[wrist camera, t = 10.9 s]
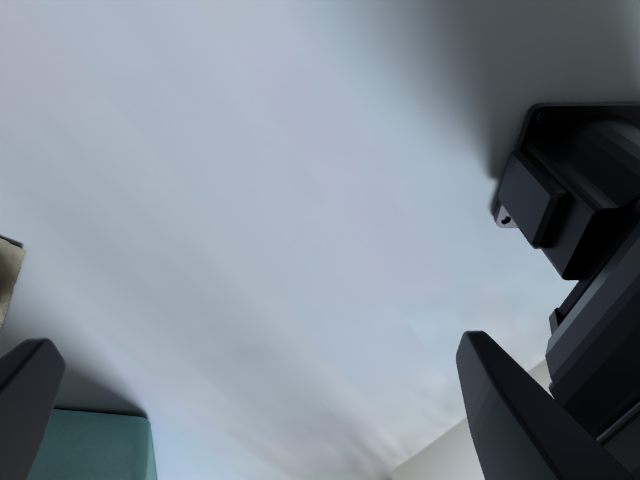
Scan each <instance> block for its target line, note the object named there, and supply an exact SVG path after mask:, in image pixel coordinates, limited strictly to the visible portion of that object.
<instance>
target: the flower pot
mask: <svg viewBox="0 0 640 480" xmlns="http://www.w3.org/2000/svg"><path fill="white" fill-rule="evenodd" d="M26 480H158V479H157V471H156V463H155V456H154V448H153V440H152V432H151V425H150V422H149V421H148V420H147V419H145V418H142V417H136V416H126V415H115V414H104V413H94V412H83V411H70V410H59V409H53V410H52V413H51V417H50V420H49V423H48V426H47V429H46V432H45V435H44V438H43V441H42V443H41V446H40V448H39V451H38V453H37V455H36V458H35V460H34V462H33V465H32V467H31V469H30V472H29V474H28V476H27V479H26Z"/></svg>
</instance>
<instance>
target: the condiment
mask: <svg viewBox="0 0 640 480" xmlns="http://www.w3.org/2000/svg"><path fill="white" fill-rule="evenodd" d="M25 252H26V251H25V250H23V249H21V248H19V247H17V246H15V245H12V244H10V243H9V242H8V241H6V240H3V239H0V329H1V326H2V323H3V320H4V318H5V313H6V311H7V309H8V306H9V302H10V300H11V296H12V293H13V288H14V285H15V283H16V280H17V277H18V274H19V272H20V268H21V263H22V260H23V258H24V255H25Z"/></svg>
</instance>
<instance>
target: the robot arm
mask: <svg viewBox="0 0 640 480" xmlns="http://www.w3.org/2000/svg"><path fill="white" fill-rule="evenodd" d="M541 112H544V114H543V116H542V117H541V118H540V119H537V120H536V117H537V115H538V114H539V113H541ZM498 199H499V202H498V205H497V208H496V211H495V214H494V221H495V222H496V224H497V226H499V227H500V228H519V229H520V231H521V232H522V233H523V235H524V236H525V238H526V239H527V241H528V242H529V243H530V245H531V246H532V247H533V248H534V249H542V251H543V252H544V254H545V255H546V256H547V258H548V259H549V260H550V262H551V263H552V265H553V266H554V267H555V269H556V270H557V272H558V273H559V274H560V276H561V277H562V278H563V279H564V280H579V282H578V283H577V284H576V286H575V287H574V288H573V290H572V291H571V293H570V294H569V295H568V297H567V298H566V299H565V301H564V302H563V303H562V305H561V306H560V307H559V308H556V309H555V310H554V311H553V312H552V314H551V315H550V317H549V322H550V327H551V333H552V336H551V337H550V339H549V341H548V346H547V351H546V355H545V357H546V361H547V365H548V369H549V373H550V377H551V380H552V382H551V383H550V384H549V390H550V392H551V394H552V396H553V397H554V398H553V397H552V396H551V395H549V394H548V393H547V392H546V391H545V390H544V389H543V388H542V387H541V386H540V385H539V384H538V383H537V382H536V381H535V380H534V379H533V378H532V377H531V376H530V375H529V374H528V373H527V372H526V371H525V370H524V369H523V368H522V367H521V366H520V365H519V364H518V363H517V362H516V361H515V360H514V359H513V358H512V357H510V356H509V355H508V354H507V353H506V352H505V351H504V350H503V349H502V348H501V347H500V346H499V345H498V344H497V343H496V342H495V341H494V340H493V339H492V338H491V337H490V336H489V335H488V334H487V333H485V332H484V331H466V332H464V333H463V336H462V338H461V341H460V344H459V347H458V350H457V354H456V364H457V369H458V374H459V379H460V384H461V389H462V394H463V399H464V404H465V409H466V414H467V419H468V423H469V428H470V432H471V436H472V439H473V443H474V446H475V449H476V452H477V455H478V458H479V462H480V464H481V468H482V471H483V474H484V477H485V480H640V102H596V103H539V104H536V105H534V106H532V107H531V108H530V109H529V111H528V113H527V115H526V118H525V121H524V124H523V127H522V130H521V133H520V137H519V140H518V143H517V146H516V149H515V150H514V151H513V152H512V153H511V155H510V158H509V161H508V165H507V168H506V171H505V174H504V177H503V180H502V184H501V187H500V190H499V193H498ZM506 216H508V217H507V218H506V219H504V220H502V219H503V218H504V217H506ZM64 371H65V361H64V359H63V357H62V356H61V354H60V353H59V351H58V350H57V348H56V346H55V345H54V343H53V342H52V341H51V340H50V339H48V338H32V339H27V340H25V341H24V342H22V343H21V344H19V345H18V346H17V347H15V348H14V349H13V350H11V351H10V352H9V353H7V354H6V355H5V356H3V357H2V358H1V359H0V480H26V479H27V476H28V474H29V472H30V469H31V467H32V465H33V462H34V460H35V458H36V455H37V453H38V451H39V448H40V446H41V443H42V441H43V438H44V435H45V432H46V429H47V426H48V423H49V420H50V417H51V413H52V410H53V407H54V404H55V401H56V397H57V394H58V391H59V388H60V385H61V381H62V378H63V375H64Z"/></svg>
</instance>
